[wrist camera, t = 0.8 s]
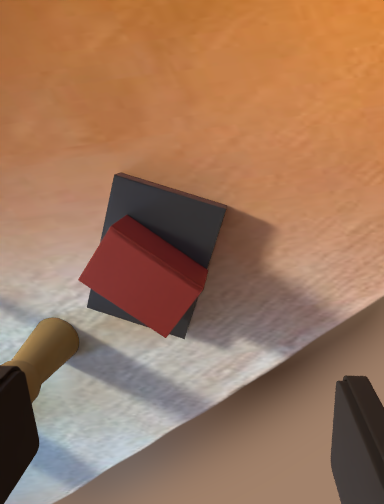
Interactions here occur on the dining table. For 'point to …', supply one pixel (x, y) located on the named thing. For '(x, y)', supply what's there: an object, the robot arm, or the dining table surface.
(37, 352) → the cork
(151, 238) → the pocket dictionary
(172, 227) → the slate hardcover
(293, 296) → the dining table surface
